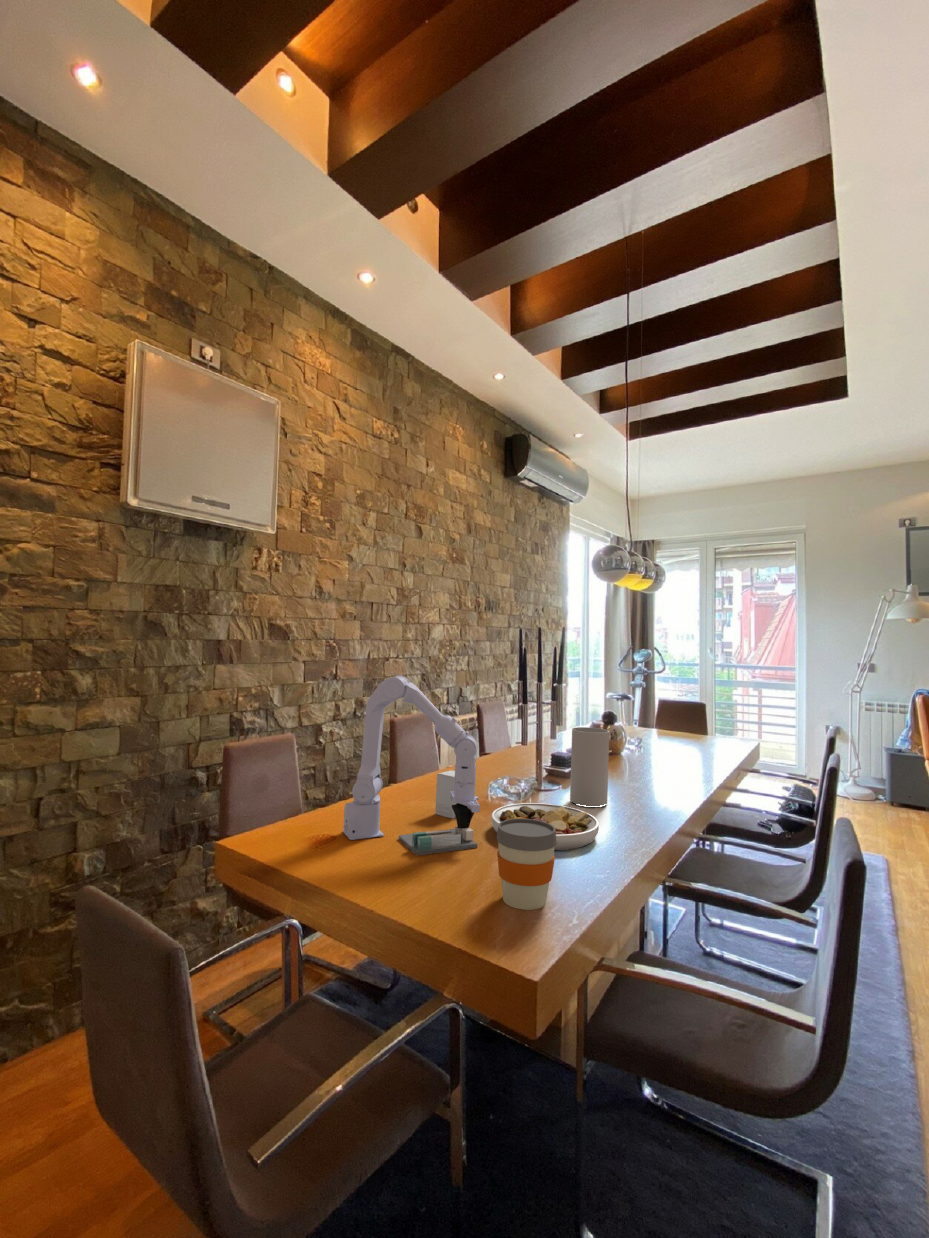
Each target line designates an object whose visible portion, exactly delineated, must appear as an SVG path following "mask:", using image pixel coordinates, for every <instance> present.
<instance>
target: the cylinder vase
mask: <svg viewBox="0 0 929 1238" xmlns="http://www.w3.org/2000/svg"><path fill="white" fill-rule="evenodd" d="M609 749H610V730H608V729H605V728H598V727H589V726H588V727H584V726H583V727H582V726H581V727H572V728H571V754H570V755H571V756H570V758H571V759H570V783H569V784H570V786H569V787H570V788H569V790H570V792H569V801H570V802H571V803H572V802H573V803H575V804H580V805H586V806H600V805H604V804H607V805H608V798H609V797H608V794H609V793H608V792H609V791H608V790H609V789H608V788H609V756H610V754H609V753H610V750H609ZM573 803H572V804H573ZM575 804H574V805H575Z"/></svg>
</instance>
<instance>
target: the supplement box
mask: <svg viewBox="0 0 929 1238" xmlns="http://www.w3.org/2000/svg"><path fill="white" fill-rule="evenodd" d="M454 781H455V770H452V769H451V770H448V771H443V772H438V773H437V774H436V787H435V788H436V790H435V792H436V793H435V810H434V811H435V815H438V816H441V817H445V818H449V819H452V820H453V819H456V816H455V813H454V811H453V809H452V805H455V804H456V802H454V801H453V799H450V792H451V791H454Z"/></svg>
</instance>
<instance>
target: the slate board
mask: <svg viewBox="0 0 929 1238" xmlns="http://www.w3.org/2000/svg"><path fill="white" fill-rule="evenodd" d="M449 829H450V828H449ZM449 829H447V830H449ZM451 830H452V831H453V833H455V828H451ZM412 834H413V833H408V834H407V833H406V834H398V840H399V841H400V842H401V843H402V842H403V843H402V844H403V845H404V846H405V845H406V846H407V847H406V848H407V849H408V850H410V852H412V853H413V854H414V856H416V855H419V856H425V854H426V855H433V854H432V853H434V854H440V853H439V852H441V853H445V852H447V853H448V852H455V851H461V850H469V849H476V848H478V843H477V842H476V841H474V839H473V840H468V841H466V840H464V839H462V843H461V845H456V846H448V847H441V848H433V849H426V850H418V849H417V846H413V845H412Z"/></svg>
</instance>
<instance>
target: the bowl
mask: <svg viewBox="0 0 929 1238" xmlns="http://www.w3.org/2000/svg"><path fill="white" fill-rule="evenodd" d="M508 819H534V820H539V821H543V822H546V823H549V824H551V825H553V826H554V827H555V829H556V841H557V844H556V846H555V847H554V851H566V850H574V848H575V849H579V848H581V847H584V845H585V846H587V845H588V844H590V843H592V842H593V841H594V840H595V838H597V836H598V833H599V830H600V829H599V828H600V822H599V821H598V819H597V818H596V817H595V816H594V815H592V814H590V813H588V812H586V811H583V810H581V809H577V808H573V807H570V806H566V805H558V804H552V803H543V802H542V803H541V802H539V803H538V802H537V803H536V802H534V803H533V802H529V803H528V802H527V803H526V802H525V803H512V804H507V805H503V806H501V807H498V808H496V809H495V810H493V812H491V825H492V827H493V829H494V831H495V832H496V833H497V831H498V825H499V823H500V822H502V821H504V820H508Z"/></svg>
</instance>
